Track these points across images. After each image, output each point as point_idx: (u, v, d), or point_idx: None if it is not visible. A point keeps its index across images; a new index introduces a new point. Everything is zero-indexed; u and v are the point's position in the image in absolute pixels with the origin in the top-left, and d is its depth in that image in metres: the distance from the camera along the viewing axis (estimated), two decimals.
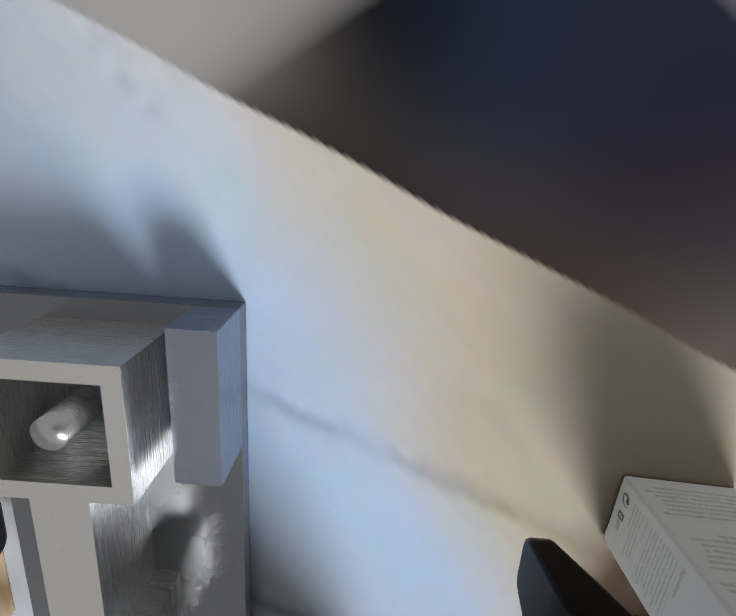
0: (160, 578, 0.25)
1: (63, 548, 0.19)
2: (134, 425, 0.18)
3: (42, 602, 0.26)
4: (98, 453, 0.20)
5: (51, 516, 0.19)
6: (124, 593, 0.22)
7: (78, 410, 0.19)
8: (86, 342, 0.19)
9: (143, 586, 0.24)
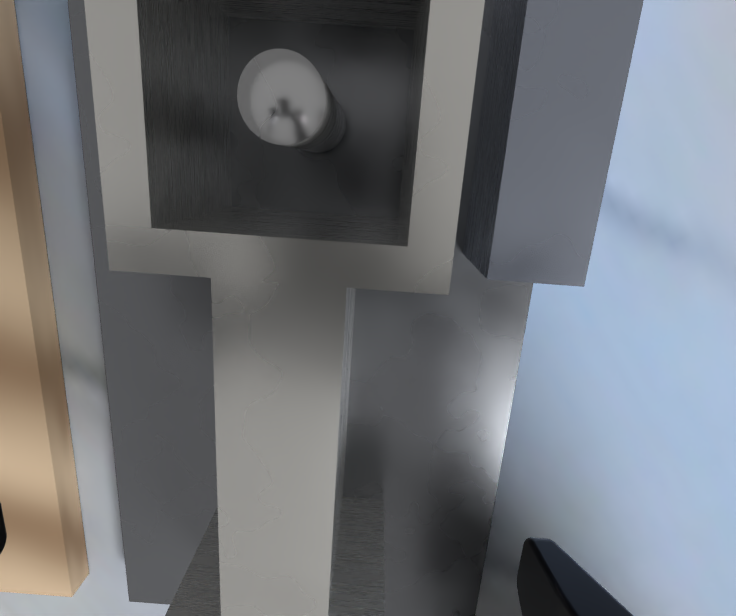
0: (357, 510, 0.14)
1: (270, 402, 0.09)
2: None
3: (142, 556, 0.16)
4: (321, 225, 0.10)
5: (255, 324, 0.09)
6: (336, 522, 0.12)
7: None
8: None
9: (339, 520, 0.14)
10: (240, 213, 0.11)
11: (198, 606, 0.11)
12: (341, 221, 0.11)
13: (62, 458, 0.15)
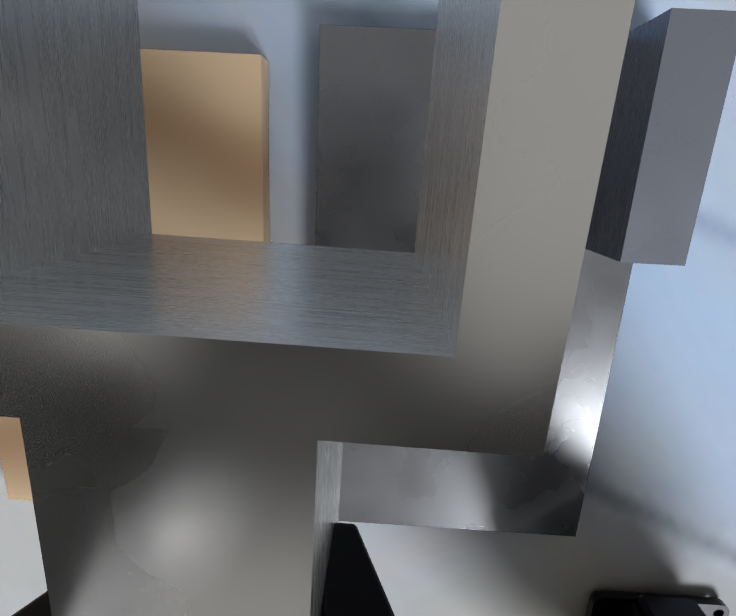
0: None
1: None
2: None
3: None
4: (281, 278, 0.05)
5: (124, 509, 0.04)
6: None
7: None
8: None
9: None
10: (150, 250, 0.07)
11: None
12: (321, 265, 0.06)
13: None
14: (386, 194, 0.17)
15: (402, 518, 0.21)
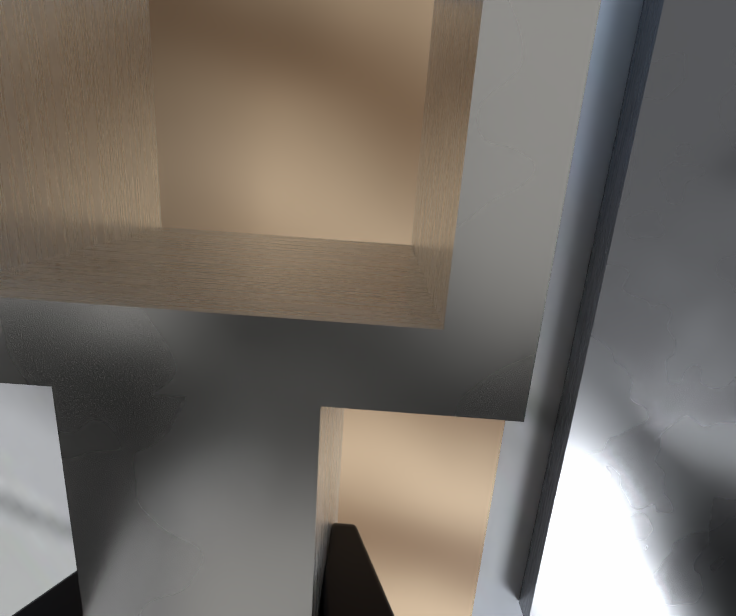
0: None
1: (183, 602, 0.05)
2: None
3: (555, 583, 0.16)
4: (285, 266, 0.06)
5: (146, 470, 0.04)
6: None
7: None
8: None
9: None
10: (162, 241, 0.07)
11: None
12: (322, 254, 0.07)
13: None
14: (718, 213, 0.12)
15: None
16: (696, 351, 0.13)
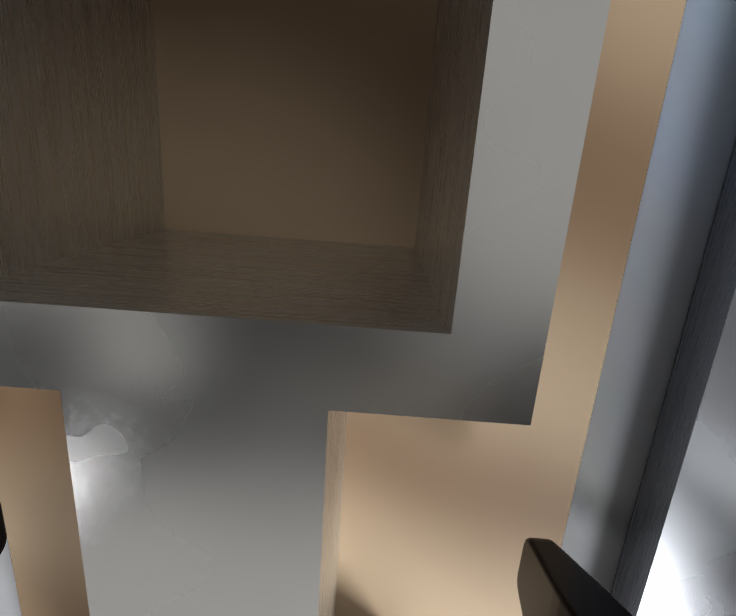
0: None
1: (190, 605, 0.05)
2: None
3: None
4: (291, 269, 0.06)
5: (154, 474, 0.04)
6: None
7: None
8: None
9: None
10: (167, 244, 0.07)
11: None
12: (327, 257, 0.07)
13: None
14: None
15: None
16: None
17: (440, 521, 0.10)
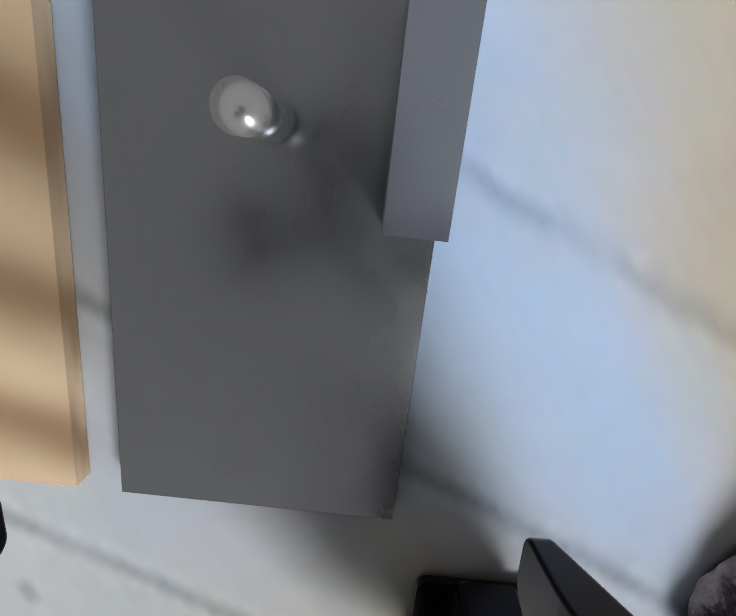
0: None
1: None
2: None
3: (134, 453, 0.20)
4: None
5: None
6: None
7: (269, 95, 0.13)
8: None
9: None
10: None
11: None
12: None
13: (73, 373, 0.20)
14: (175, 153, 0.16)
15: (216, 494, 0.21)
16: (190, 263, 0.18)
17: None
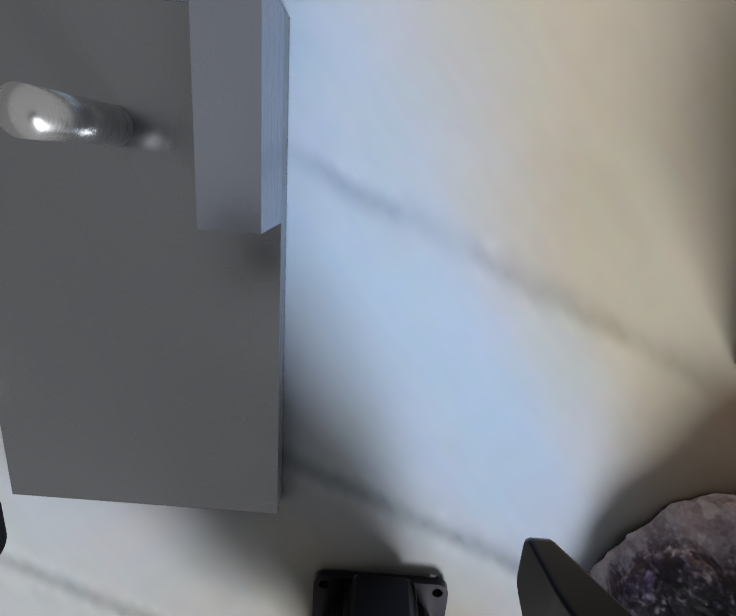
0: None
1: None
2: None
3: (20, 456, 0.21)
4: None
5: None
6: None
7: (65, 99, 0.13)
8: None
9: None
10: None
11: None
12: None
13: None
14: (24, 161, 0.17)
15: (103, 494, 0.21)
16: (50, 266, 0.18)
17: None
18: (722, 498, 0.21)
